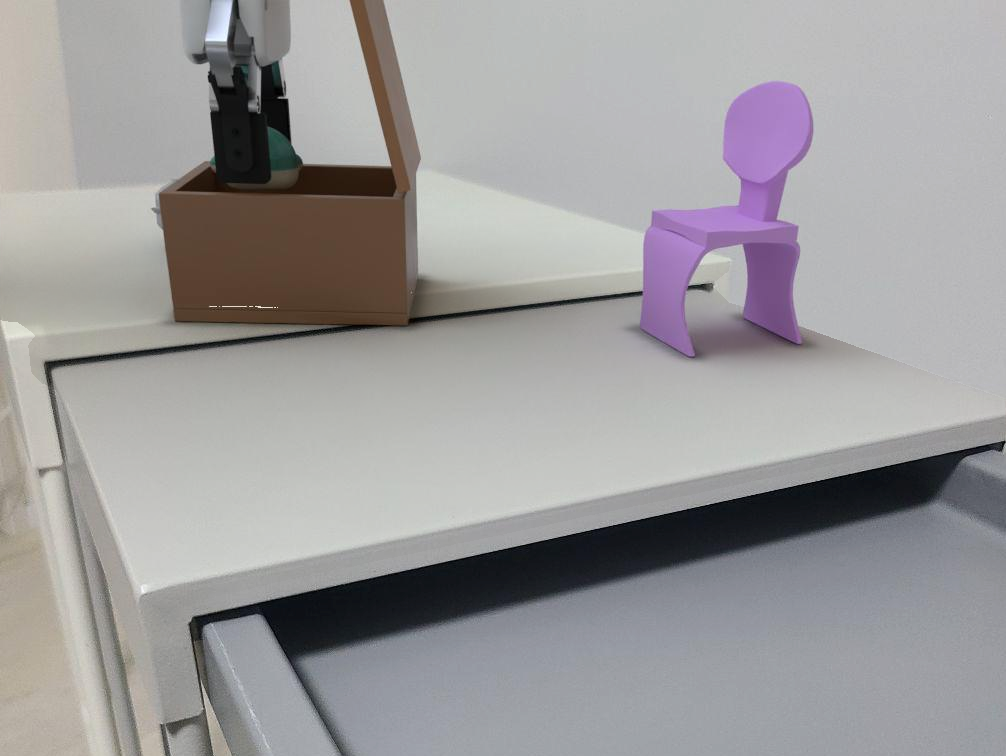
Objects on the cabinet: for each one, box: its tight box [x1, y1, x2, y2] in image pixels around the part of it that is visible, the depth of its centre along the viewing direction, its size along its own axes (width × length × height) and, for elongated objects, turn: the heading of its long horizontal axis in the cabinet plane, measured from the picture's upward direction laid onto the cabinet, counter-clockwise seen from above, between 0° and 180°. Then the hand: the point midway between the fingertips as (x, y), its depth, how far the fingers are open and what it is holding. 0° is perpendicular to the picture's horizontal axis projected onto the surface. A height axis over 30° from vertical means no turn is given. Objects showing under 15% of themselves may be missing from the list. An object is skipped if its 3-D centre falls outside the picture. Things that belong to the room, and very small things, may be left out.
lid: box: [349, 0, 422, 193], centre depth 66 cm, size 15×12×6 cm
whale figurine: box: [209, 126, 304, 190], centre depth 68 cm, size 6×7×4 cm
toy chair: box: [639, 80, 814, 358], centre depth 65 cm, size 8×9×15 cm
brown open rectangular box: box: [158, 160, 419, 327], centre depth 71 cm, size 15×12×8 cm
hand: (256, 169), depth 69 cm, fingers closed on whale figurine, 7 cm apart
